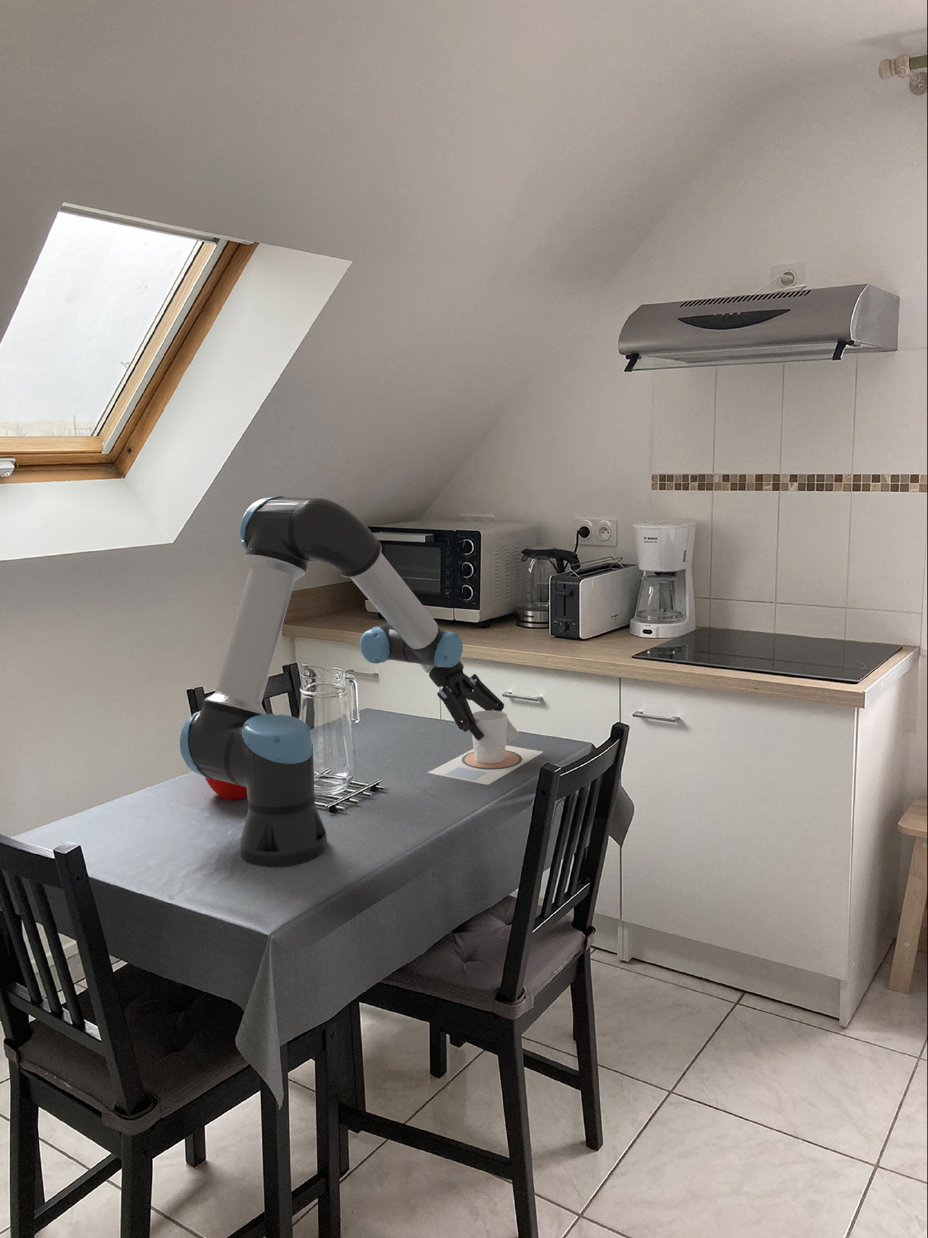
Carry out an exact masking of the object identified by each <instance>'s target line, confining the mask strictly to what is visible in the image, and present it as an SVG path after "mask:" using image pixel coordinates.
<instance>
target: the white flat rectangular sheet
mask: <svg viewBox="0 0 928 1238" xmlns="http://www.w3.org/2000/svg"><path fill="white" fill-rule="evenodd" d="M505 750H507V751H511V752H515V753H517V754H519V755H520V756H521V757H522V761H521V762H520V763H519V764H518V765H515V766H513V767H509V768H504V769H492V770H489V769H478V768H473V767H469V766H467V765H465V764H464V763H463V762H462V758H463V756H465V755H466V754H468V753H471V752H474V748H472V749H470V750H468V751H466V752H465V753H462V754H461V755H458V756H457V757H455V758H453V759H451V760H449V761H447V762H445V763H444V764H441V765H440V766H438V767H435V768H434V769H432V770H430V771H428V772H427V774H431V775H436V776H441V777H445V778H446V777H447V778H450V779H451V778H452V779H456V780H459V781H460V780H461V781H465V782H471V783H476V784H481V785H485V786H486V785H487V786H489V785H491V784H493V783H494V782H496V781H497V780H499V779H500V778H503V777H504V776H505V775H508V774H509V773H511V772H512V771H515V770H516V769H517V768H520V767H521V766H523V765H524V764H526V763H528V762H530V761H531V760H533V759H534V758H536V757H538V756H540V755H541V754H543V753H544V751H542V750H541V751H540V750H535V749H529V748H524V747H518V746H513V745H507V744H506V748H505Z"/></svg>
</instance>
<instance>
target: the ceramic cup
mask: <svg viewBox="0 0 928 1238" xmlns="http://www.w3.org/2000/svg"><path fill="white" fill-rule="evenodd" d="M204 779H205V780H206V782H207V784H208V785H209V788H211V790H212V791H213V792H214V793H215V794H217V795H218V797H219V798H222V799H224V800H240V799H244V798H247V788H246V787H244V786H240V785H236V784H232V783H228V782H224V781H220V780H215V779H209V778H206V777H204Z"/></svg>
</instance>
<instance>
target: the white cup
mask: <svg viewBox="0 0 928 1238" xmlns="http://www.w3.org/2000/svg"><path fill="white" fill-rule="evenodd" d="M472 714H473V716H474V719H475V721H476V723H477V722H480V724H481V725H482V726H483V727H484V729H485V730H486V731H487V732H488V734H489V735H490V736H491V737H492V739H493V740H494V741H495V742H496V744H497V745H498V746H497V747H496V748H495V749H494V750H493V751H492V752H490V753H489V754H488V752H487V751H486V750H485V749H484V747H483V746H482V745H481V744H480V742H479V741H478V740H477V739H476V738H475V737H474V735H473V734H472V733H471V736H472V747H473V748H472V749H474V758H475V761H477V762H479V763H483V764H494V763H500V762H502V761H504V760H505V748H506V745H507V737H506V736H507V718H508V714H507V713H506V712H503V711H502V712H501V711H493V710H487V711H486V710H479V711H476V712H472ZM476 723H475V724H476Z"/></svg>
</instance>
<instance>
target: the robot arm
mask: <svg viewBox="0 0 928 1238" xmlns="http://www.w3.org/2000/svg"><path fill="white" fill-rule="evenodd" d="M239 537H240V538H241V540H240V541H241V544H242V546H243V548H244V550H245V551H246V552H245V555H244V560H245V562H246V563H247V566H248V567H249V572H248V575H247V579H246V582H245V585H244V589H243V593H242V596H241V600H240V603H239V606H238V611H237V613H236V617H235V621H234V623H233V626H232V632H231V635H230V639H229V642H228V646H227V649H226V653H225V656H224V659H223V660H224V661H223V664H222V666H221V670H220V675H219V678H218V681H217V684H216V689H215V692H213V694H211V695H209V696H207V697H206V698H204V700H203V704H202V705H201V706H202V707H201V710H200V711H197V712H194V713H193V714H191V717H189V718H187V720H186V721H185V722H184V724H183V726H182V728H181V731H180V736H179V751H180V755H181V757H182V759H183V760H184V763H185V765H186V766H187V767H188V768H189V770H191V771H192V772H194V773H195V774H198V775H200V776H203V777H204V778H205V777H206V778H209V779H215V780H220V781H224V782H228V783H232V784H236V785H240V786H244V787H246V788H247V797H246V799H247V814H246V817H245V821H244V825H243V827H242V831H241V837H240V840H239V841H240V842H239V843H240V846H239V847H240V855H241V857H242V858H243V859H244V860H245V861H247V862H249V863H251V864H254V865H258V866H264V867H285V866H293V865H298V864H302V863H305V862H308V861H310V860H313V859H315V858H317V857H319V856H320V855H322V854H323V853H324V852H325V851H326V849H327V847H328V837H327V836H328V835H327V830H326V828H325V826H324V823H323V820H322V818H321V816H320V813H319V811H318V808H317V805H316V796H315V775H314V774H315V770H314V744H313V741H312V736H311V735H312V734H311V730H310V727H309V725H308V724H307V723H306V722H304V721H303V720H302V719H299V718H298V717H296V716H291V715H287V714H283V713H281V714H274V713H267V712H266V711H265V709H264V707H263V705H262V702H263V700H264V695H265V691H266V687H267V684H268V679H269V677H270V674H271V670H272V665H273V663H274V660H275V659H274V657H275V655H276V651H277V649H278V647H277V646H278V644H279V641H280V637H281V633H282V630H283V626H284V621H285V617H286V614H287V610H288V606H289V604H290V601H291V596H292V592H293V588H294V587H295V582H296V581H297V580H299V579H300V578H302V577H304V576H305V575H306V572H307V568H308V565H309V561H310V562H319V563H324V564H327V565H329V566H331V567H332V568H334V569H335V570H336V571H337V572H338V574H339V575H340V576H341V577H344V578H348V579H351V581H352V582H353V583H354V584H355V586H357V587H358V588H359V590H360V591H361V592H362V593H363V595H364V596H365V597H366V598H367V600H368V601H370V603H371V604H372V605H373V606H374V607H375V608H376V610H377V611H378V612H379V613H380V614H381V615H382V617H383V618H384V619H385V620H386V623H384V624H380V625H377V626H373V627H372V628H369V629H368V630H366V631H364V633H363V634H361V637H360V639H359V649H360V653H361V655H362V656H363V657H364V659H365V661H368V662H369V663H370V664H375V665H376V664H381V663H383V664H384V663H385V662H387V661H395V662H403V663H408V664H409V663H411V664H419V665H420V666H421V668H422V670H423V671H424V672H425V674H426V673H427V674H428V676H429V678H430V680H431V681H432V682H433V684H434V685H435V686H436V687H437V688H441V689H440V690H439V691H438V692H437V694H436V695H437V696H438V697H439V699H440V700H441V701H442V702H443V704H444V705H445V707H446V709H447V711H448V712H449V714H450V716H451V717H452V719H453V720H454V722H455V724H456V726H457V727H458V729H459V730H462V731H463V732H465V733H467V732H470V733H471V735H472V734H473V735H474V737H475V738H476V739H477V740H478V741H479V742H480V744H481V745H482V746H483V747H484V749H485V750H486V751H487V752H488V754H489V753H490V752H492V751H493V750H494V749H495V748H496V747H497V746H498V745H497V744H496V742H495V741H494V740H493V739H492V737H491V736H490V735H489V734H488V732H487V731H486V730H485V729H484V727H483V726H482V725H481V724H480V722H477V723H476V721H475V719H474V716H473V712H472V709H471V707H470V704H469V702H468V701H472V702H474V703H475V704H476V705H477V706H479V707H480V708H482V710H483V711H487V710H493V711H501V712H503V710H504V708H505V703H504V702H503V701H502V700H500V698H499V697H498V696H496V694H495V693H493V691H492V690H490V689H489V688H488V686H486V685H485V683H483V682H482V681H481V679H480V677H479V676H478V675H477V674H476V673H474V674H472V675H471V676H468V675H467V674H466V673H464V668H465V666H464V664H463V663H462V662H461V660H460V659H461V657H462V654H463V650H464V649H463V647H464V645H463V641H462V640H463V639H462V637H461V636H460V635H459V634H458V633H456V632H454V631H450V630H443V629H442V628H441V626H440V625H439V624H438V623H437V622H436V620H435V619H434V618H433V617H432V615H431V613H429V612H428V610H427V609H426V607H425V606H424V605H423V604H422V603H421V602H420V600H419V599H418V597H417V596H416V595H415V594H414V592H413V591H412V590H411V589H410V586H408V585H407V584H406V583H405V581H404V580H403V578H402V577H401V576H400V575H399V573H398V572H397V571H396V569H395V568H394V567H393V566H392V565H391V563H390V562H389V561H388V560H387V558H386V557H385V556H384V554H383V553H382V544H381V542H380V541H379V539H378V538H377V536H376V535H375V534H374V533H373V532H372V531H371V529H370V528H369V527H368V526H367V525H366V524H365V523H364V522H363V521H362V520H361V519H359V518H358V517H357V516H356V515H355V514H354V513H352V512H351V511H350V510H348V509H347V508H346V507H344V506H343V505H341V504H339V503H337V502H335V501H333V500H329V499H326V498H322V497H314V498H311V497H289V496H283V495H276V496H272V497H264V498H261V499H258V500H256V501H255V502H253V503H252V504H251V505H250V506H248V508H247V509H246V511H245V512H244V513H243V516H242V519H241V521H240V525H239ZM475 723H476V724H475ZM519 734H520V732H519V731H518V730H517V729H516V727H515V726H514V725H513V723H512V722H511V721H510V720H509V718H508V717H507V736H506V739H508V740H509V742H512V741H513V740H515V738H517V737H518V736H519Z"/></svg>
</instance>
